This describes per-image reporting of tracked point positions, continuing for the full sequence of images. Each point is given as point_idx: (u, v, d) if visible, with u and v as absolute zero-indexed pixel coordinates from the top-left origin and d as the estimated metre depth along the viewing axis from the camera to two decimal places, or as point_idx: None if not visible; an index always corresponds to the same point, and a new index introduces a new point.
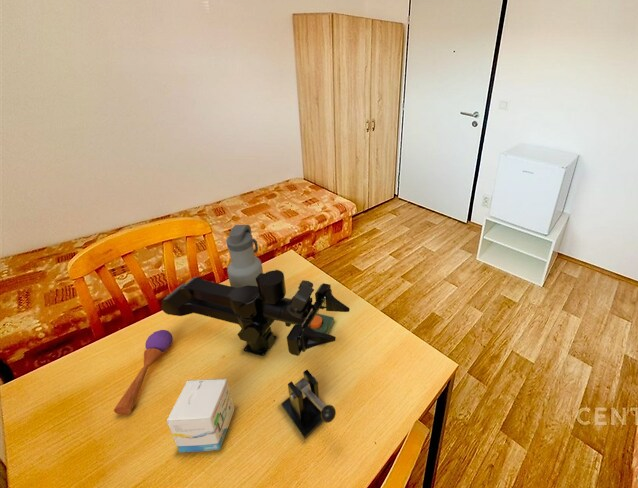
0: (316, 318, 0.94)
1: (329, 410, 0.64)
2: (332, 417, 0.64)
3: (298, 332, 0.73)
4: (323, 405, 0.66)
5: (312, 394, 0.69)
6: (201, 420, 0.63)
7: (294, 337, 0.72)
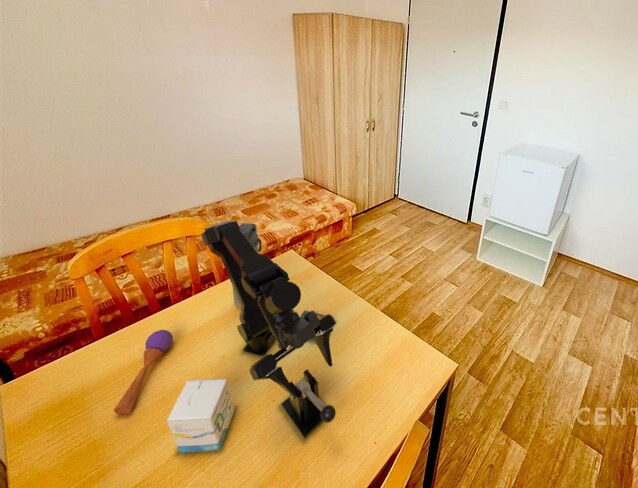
0: None
1: (329, 410, 0.64)
2: (332, 417, 0.64)
3: (268, 371, 0.62)
4: (323, 405, 0.66)
5: (312, 394, 0.69)
6: (201, 420, 0.63)
7: (261, 375, 0.61)
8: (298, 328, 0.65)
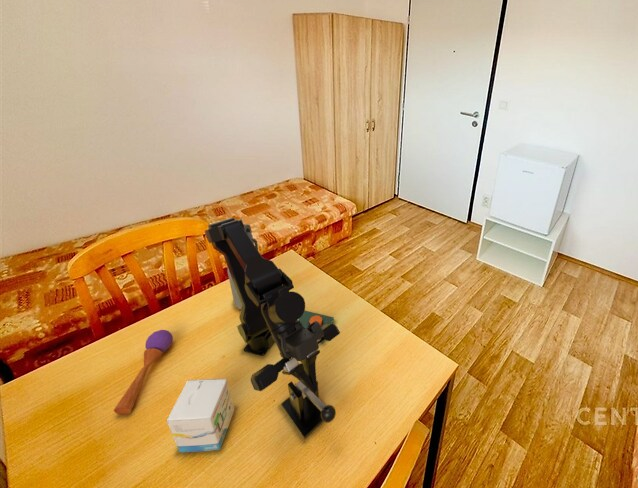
0: (316, 318, 0.94)
1: (329, 410, 0.64)
2: (332, 417, 0.64)
3: (269, 383, 0.60)
4: (323, 405, 0.66)
5: (312, 394, 0.69)
6: (201, 420, 0.63)
7: (261, 386, 0.60)
8: (301, 340, 0.63)
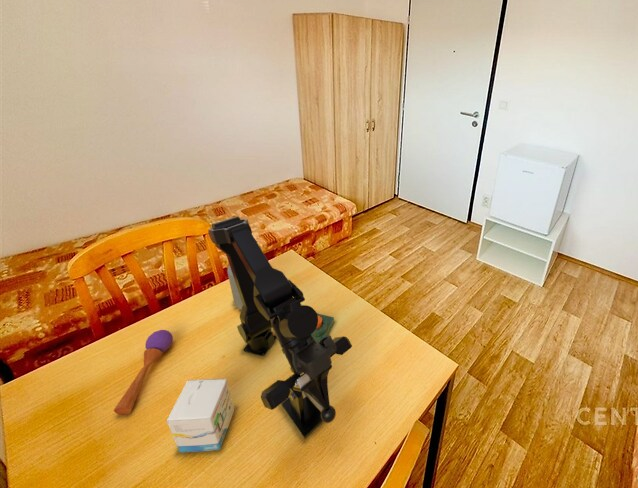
0: None
1: (329, 410, 0.64)
2: (332, 417, 0.64)
3: (281, 401, 0.58)
4: None
5: None
6: (201, 420, 0.63)
7: (273, 405, 0.57)
8: (314, 355, 0.60)
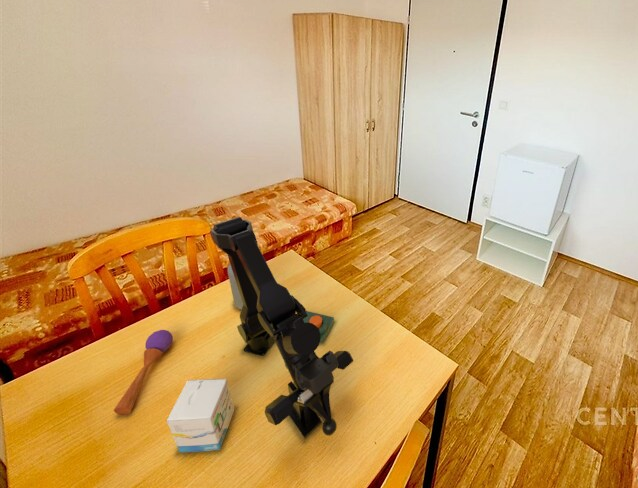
0: (316, 318, 0.94)
1: (332, 426, 0.66)
2: (333, 432, 0.66)
3: (284, 416, 0.60)
4: None
5: None
6: (201, 420, 0.63)
7: (277, 420, 0.59)
8: (316, 371, 0.62)
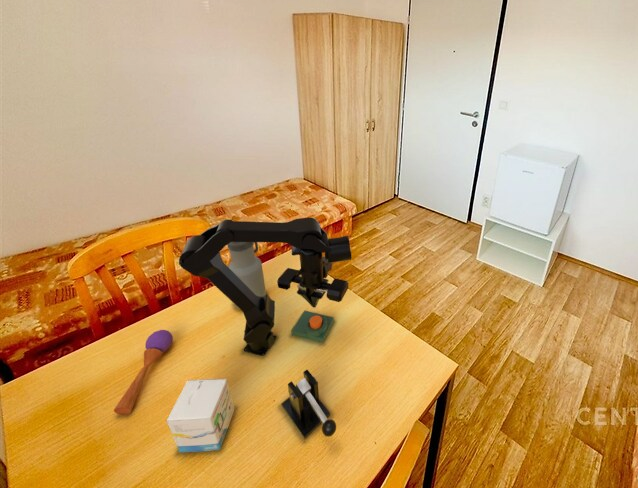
0: (316, 318, 0.94)
1: (332, 428, 0.66)
2: (333, 433, 0.67)
3: None
4: (324, 417, 0.68)
5: (313, 400, 0.70)
6: (201, 420, 0.63)
7: None
8: (325, 258, 0.92)
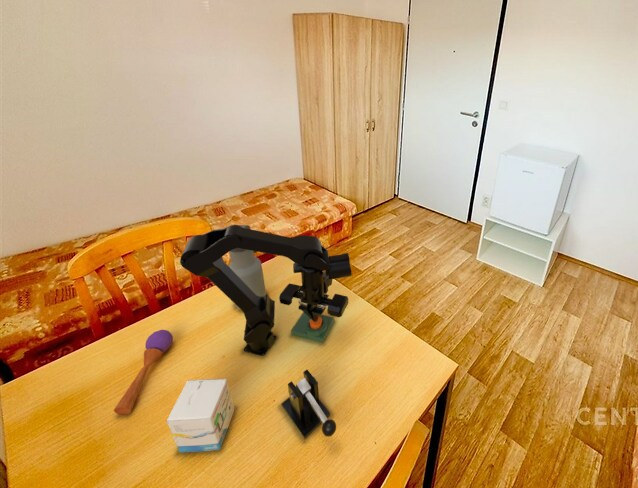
0: None
1: (332, 428, 0.66)
2: (333, 433, 0.67)
3: None
4: (324, 417, 0.68)
5: (313, 400, 0.70)
6: (201, 420, 0.63)
7: None
8: (325, 274, 0.95)
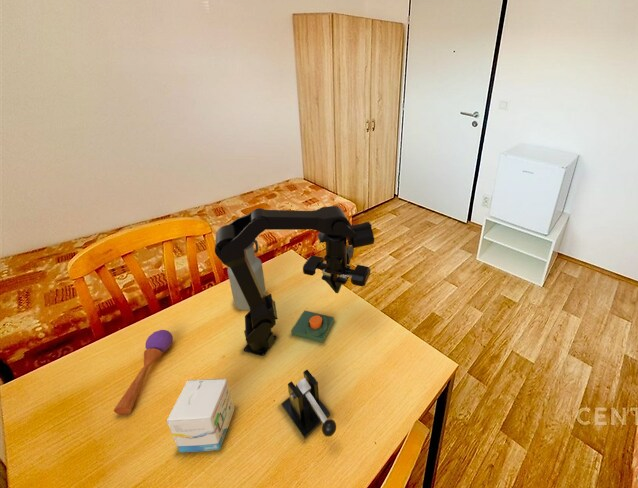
0: (316, 318, 0.94)
1: (332, 428, 0.66)
2: (333, 433, 0.67)
3: None
4: (324, 417, 0.68)
5: (313, 400, 0.70)
6: (201, 420, 0.63)
7: None
8: (347, 246, 0.96)
